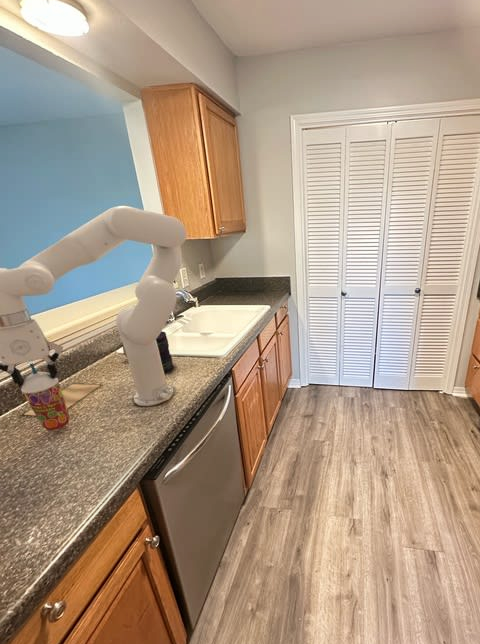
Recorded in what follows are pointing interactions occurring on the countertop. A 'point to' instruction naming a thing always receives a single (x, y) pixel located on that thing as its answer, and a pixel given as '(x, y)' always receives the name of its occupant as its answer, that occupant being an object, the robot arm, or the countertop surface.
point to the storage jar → (164, 352)
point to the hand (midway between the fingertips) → (38, 379)
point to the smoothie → (46, 399)
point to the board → (72, 394)
